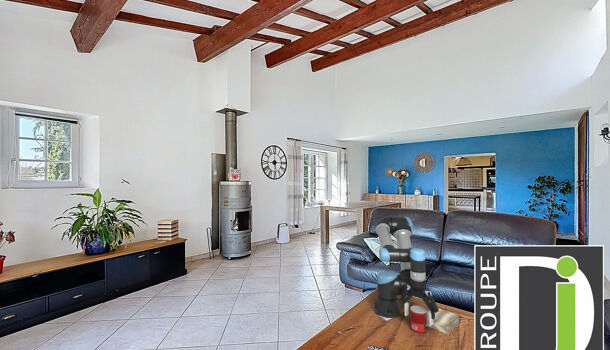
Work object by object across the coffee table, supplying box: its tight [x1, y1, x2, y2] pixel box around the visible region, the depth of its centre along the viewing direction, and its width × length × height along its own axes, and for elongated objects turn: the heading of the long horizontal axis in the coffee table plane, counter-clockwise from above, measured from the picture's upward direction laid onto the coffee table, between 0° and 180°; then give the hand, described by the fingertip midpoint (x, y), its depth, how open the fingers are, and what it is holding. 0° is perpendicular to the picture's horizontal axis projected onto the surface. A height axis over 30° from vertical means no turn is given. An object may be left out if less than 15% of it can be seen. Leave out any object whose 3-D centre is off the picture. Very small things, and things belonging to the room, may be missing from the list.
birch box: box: [426, 307, 460, 335], centre depth 154 cm, size 14×14×5 cm
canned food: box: [409, 305, 428, 334], centre depth 149 cm, size 8×8×11 cm
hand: (418, 319), depth 148 cm, fingers open, 13 cm apart
